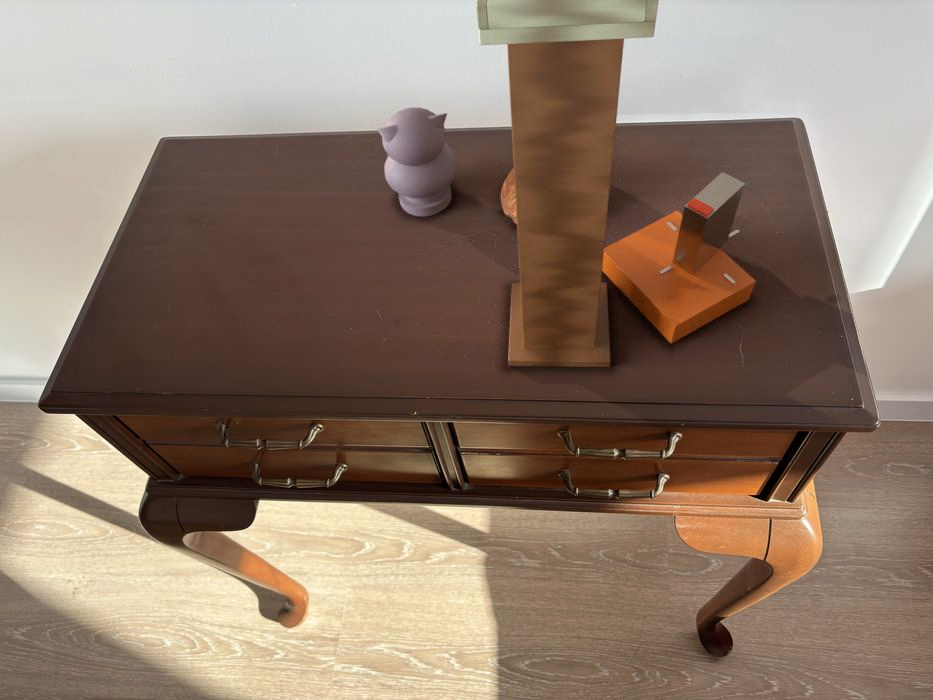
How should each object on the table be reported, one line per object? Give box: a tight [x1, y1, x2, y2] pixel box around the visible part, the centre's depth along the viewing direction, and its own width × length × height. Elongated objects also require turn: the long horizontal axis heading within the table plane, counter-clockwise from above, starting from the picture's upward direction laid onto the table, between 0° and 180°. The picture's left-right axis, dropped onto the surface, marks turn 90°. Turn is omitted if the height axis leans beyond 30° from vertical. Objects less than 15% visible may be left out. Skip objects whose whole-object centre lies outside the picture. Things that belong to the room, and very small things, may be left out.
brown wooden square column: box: [475, 0, 659, 368], centre depth 56 cm, size 10×10×38 cm
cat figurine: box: [376, 106, 458, 218], centre depth 80 cm, size 8×8×12 cm
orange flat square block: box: [602, 210, 757, 344], centre depth 72 cm, size 12×13×3 cm
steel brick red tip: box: [672, 171, 746, 275], centre depth 68 cm, size 6×2×8 cm, turn 134°
